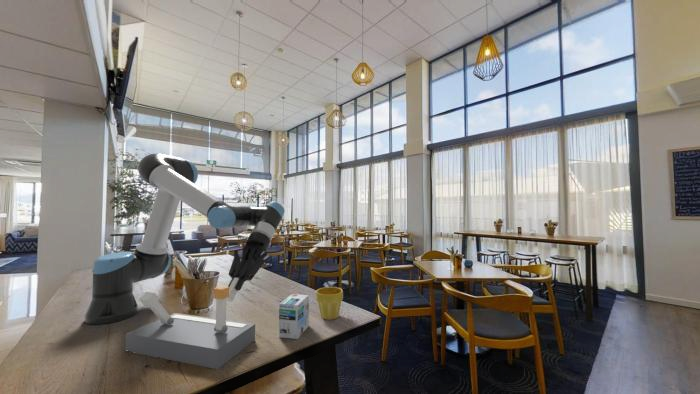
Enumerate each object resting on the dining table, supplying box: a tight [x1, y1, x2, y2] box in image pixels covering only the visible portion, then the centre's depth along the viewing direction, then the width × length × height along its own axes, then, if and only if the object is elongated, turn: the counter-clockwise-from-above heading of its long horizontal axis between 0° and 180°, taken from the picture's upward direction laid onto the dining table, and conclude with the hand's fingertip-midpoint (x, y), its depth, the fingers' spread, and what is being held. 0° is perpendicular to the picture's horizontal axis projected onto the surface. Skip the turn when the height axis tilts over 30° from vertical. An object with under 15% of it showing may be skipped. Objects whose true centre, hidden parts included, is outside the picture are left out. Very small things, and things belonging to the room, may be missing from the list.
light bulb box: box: [278, 293, 310, 340], centre depth 92 cm, size 11×7×11 cm, turn 168°
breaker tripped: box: [213, 285, 229, 333], centre depth 80 cm, size 3×3×13 cm
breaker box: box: [125, 312, 256, 370], centre depth 83 cm, size 32×16×5 cm, turn 74°
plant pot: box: [315, 286, 344, 320], centre depth 105 cm, size 10×10×10 cm
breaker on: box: [138, 291, 174, 324], centre depth 83 cm, size 3×3×13 cm
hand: (228, 299), depth 82 cm, fingers closed
